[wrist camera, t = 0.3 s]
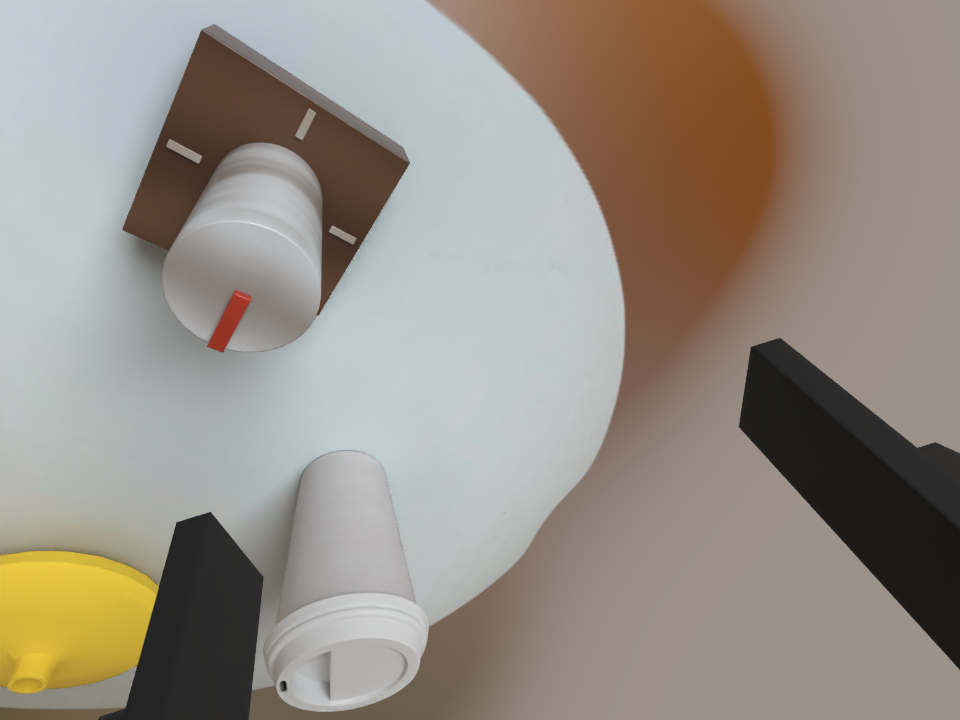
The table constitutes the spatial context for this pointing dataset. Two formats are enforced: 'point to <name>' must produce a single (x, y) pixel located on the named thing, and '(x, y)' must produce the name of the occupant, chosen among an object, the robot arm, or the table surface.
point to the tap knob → (250, 253)
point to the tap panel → (264, 119)
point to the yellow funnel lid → (69, 619)
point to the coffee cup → (345, 593)
